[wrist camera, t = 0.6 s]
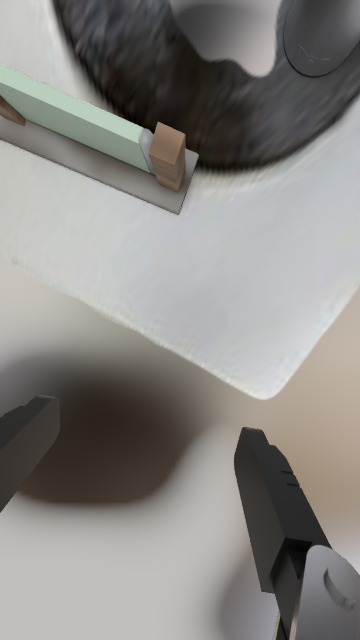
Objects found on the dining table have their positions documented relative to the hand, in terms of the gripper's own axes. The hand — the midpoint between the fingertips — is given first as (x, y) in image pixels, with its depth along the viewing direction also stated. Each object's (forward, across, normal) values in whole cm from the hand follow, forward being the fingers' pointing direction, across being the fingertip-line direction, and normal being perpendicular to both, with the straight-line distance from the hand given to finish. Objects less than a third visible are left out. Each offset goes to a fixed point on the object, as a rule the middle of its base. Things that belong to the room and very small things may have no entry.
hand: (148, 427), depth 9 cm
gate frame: (+27, +15, -22) cm, 38 cm away
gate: (+25, +15, -21) cm, 36 cm away
